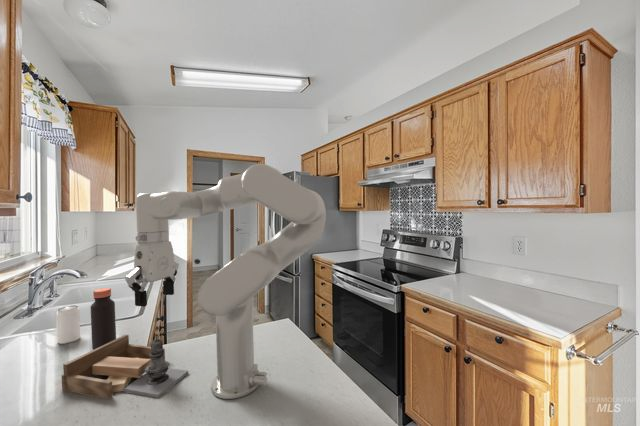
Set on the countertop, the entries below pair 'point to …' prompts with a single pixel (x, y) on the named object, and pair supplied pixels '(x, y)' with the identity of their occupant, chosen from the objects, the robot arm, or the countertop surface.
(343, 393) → the countertop surface
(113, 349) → the rack
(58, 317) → the can
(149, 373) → the grey stone finial
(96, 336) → the bottle
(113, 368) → the upper offcut
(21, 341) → the countertop surface
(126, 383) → the lower offcut
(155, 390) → the mat
